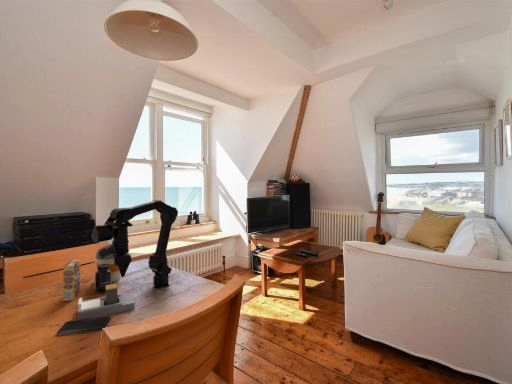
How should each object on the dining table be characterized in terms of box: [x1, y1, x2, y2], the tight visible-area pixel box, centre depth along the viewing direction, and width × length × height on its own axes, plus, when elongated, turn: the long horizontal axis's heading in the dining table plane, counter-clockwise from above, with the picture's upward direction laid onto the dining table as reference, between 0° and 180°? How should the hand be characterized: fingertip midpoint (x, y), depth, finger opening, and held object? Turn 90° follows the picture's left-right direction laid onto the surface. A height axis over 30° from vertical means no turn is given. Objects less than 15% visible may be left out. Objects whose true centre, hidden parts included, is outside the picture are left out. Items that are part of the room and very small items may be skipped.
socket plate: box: [77, 292, 136, 320], centre depth 104 cm, size 19×11×3 cm, turn 121°
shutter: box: [77, 297, 100, 312], centre depth 100 cm, size 7×7×3 cm
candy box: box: [62, 259, 81, 302], centre depth 114 cm, size 9×4×15 cm, turn 20°
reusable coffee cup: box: [95, 250, 121, 283], centre depth 134 cm, size 13×13×15 cm
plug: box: [105, 283, 118, 305], centre depth 104 cm, size 4×4×9 cm
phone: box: [56, 316, 112, 336], centre depth 91 cm, size 8×1×15 cm
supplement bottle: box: [94, 264, 113, 294], centre depth 121 cm, size 7×7×12 cm
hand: (121, 273), depth 111 cm, fingers open, 9 cm apart
